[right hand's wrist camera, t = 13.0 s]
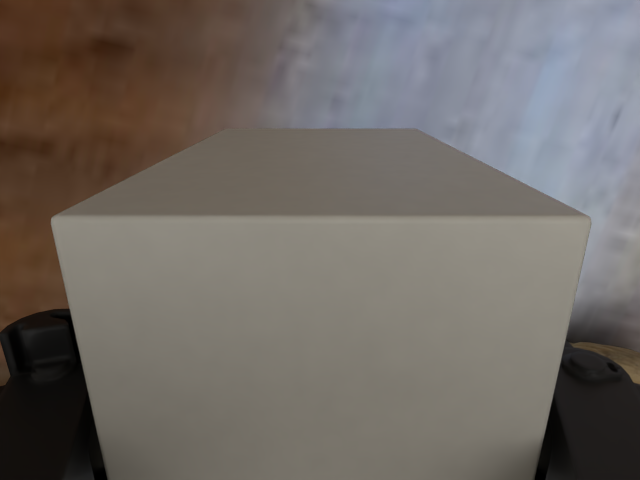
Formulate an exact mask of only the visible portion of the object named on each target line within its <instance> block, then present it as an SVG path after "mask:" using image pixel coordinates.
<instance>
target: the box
mask: <svg viewBox="0 0 640 480" xmlns="http://www.w3.org/2000/svg"><path fill="white" fill-rule="evenodd" d="M51 226H52V231H53V235H54V240H55V244H56V249H57V253H58V258H59V262H60V267H61V271H62V276H63V280H64V285H65V289H66V294H67V298H68V303H69V308H70V312H71V317H72V321H73V326H74V330H75V335H76V339H77V344H78V348H79V353H80V357H81V362H82V366H83V371H84V375H85V380H86V385H87V389H88V394H89V398H90V403H91V407H92V412H93V416H94V421H95V425H96V430H97V434H98V439H99V443H100V448H101V452H102V457H103V462H104V466H105V471H106V475H107V480H534V479H535V475H536V470H537V466H538V461H539V457H540V452H541V448H542V443H543V439H544V434H545V430H546V425H547V421H548V416H549V412H550V407H551V403H552V398H553V394H554V389H555V385H556V380H557V376H558V371H559V367H560V362H561V358H562V353H563V349H564V344H565V340H566V335H567V331H568V326H569V322H570V317H571V313H572V308H573V304H574V299H575V295H576V290H577V286H578V281H579V277H580V272H581V268H582V264H583V259H584V255H585V250H586V246H587V241H588V237H589V232H590V228H591V219H590V217H589V216H587V215H585V214H583V213H581V212H579V211H577V210H575V209H573V208H571V207H570V206H568V205H566V204H564V203H562V202H560V201H558V200H556V199H554V198H552V197H550V196H548V195H546V194H544V193H542V192H540V191H538V190H536V189H534V188H532V187H530V186H528V185H526V184H524V183H522V182H520V181H518V180H516V179H514V178H512V177H510V176H508V175H506V174H504V173H502V172H501V171H499V170H497V169H495V168H493V167H491V166H489V165H487V164H485V163H483V162H481V161H479V160H477V159H475V158H473V157H471V156H469V155H467V154H465V153H463V152H461V151H459V150H457V149H455V148H453V147H451V146H449V145H447V144H445V143H443V142H441V141H439V140H437V139H435V138H433V137H431V136H429V135H428V134H426V133H424V132H422V131H420V130H418V129H224V130H222V131H220V132H218V133H216V134H214V135H212V136H210V137H208V138H206V139H204V140H202V141H201V142H199V143H197V144H195V145H193V146H191V147H189V148H187V149H185V150H183V151H181V152H179V153H177V154H175V155H173V156H171V157H169V158H167V159H165V160H163V161H161V162H159V163H157V164H155V165H153V166H151V167H149V168H147V169H145V170H143V171H141V172H139V173H137V174H135V175H133V176H132V177H130V178H128V179H126V180H124V181H122V182H120V183H118V184H116V185H114V186H112V187H110V188H108V189H106V190H104V191H102V192H100V193H98V194H96V195H94V196H92V197H90V198H88V199H86V200H84V201H82V202H80V203H78V204H76V205H74V206H72V207H70V208H68V209H66V210H64V211H63V212H61V213H59V214H57V215H55V216H53V217H52V219H51Z"/></svg>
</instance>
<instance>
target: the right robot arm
mask: <svg viewBox="0 0 640 480" xmlns="http://www.w3.org/2000/svg"><path fill="white" fill-rule="evenodd" d="M0 341H1V345H2V348H3V352H4V355H5V358H6V362H7V365H8V369H9V372H10V375H11V376H10V378H9V380H8V382H7V384H6V385H4V386H0V480H107V475H106V471H105V466H104V462H103V457H102V452H101V448H100V443H99V439H98V434H97V430H96V425H95V421H94V416H93V412H92V407H91V403H90V398H89V394H88V389H87V385H86V380H85V375H84V371H83V366H82V362H81V357H80V353H79V348H78V344H77V339H76V335H75V330H74V326H73V321H72V317H71V312H70V309H53V310H48V311H44V312H39V313H35V314H32V315H29V316H27V317H24V318H21V319H19V320H17V321H15V322H14V323H12V324H10V325H8V326H7V327H6V328H5V329H4V330H2V331H1V332H0ZM534 480H640V384H637V383H633V381H632V379H631V377H630V375H629V374H628V373H627V372H626V371H625V370H624V369H623V368H622V366H620V365H619V364H617V363H616V362H614V361H613V360H611V359H609V358H608V357H605V356H603V355H600V354H598V353H596V352H593V351H589V350H585V349H581V348H575V347H573V346H572V345H571V344H570V343H569V342H568V341H567V340H565V344H564V349H563V353H562V358H561V362H560V367H559V371H558V376H557V380H556V385H555V389H554V394H553V398H552V403H551V407H550V412H549V416H548V421H547V425H546V430H545V434H544V439H543V443H542V448H541V452H540V457H539V461H538V466H537V470H536V475H535V479H534Z"/></svg>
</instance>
